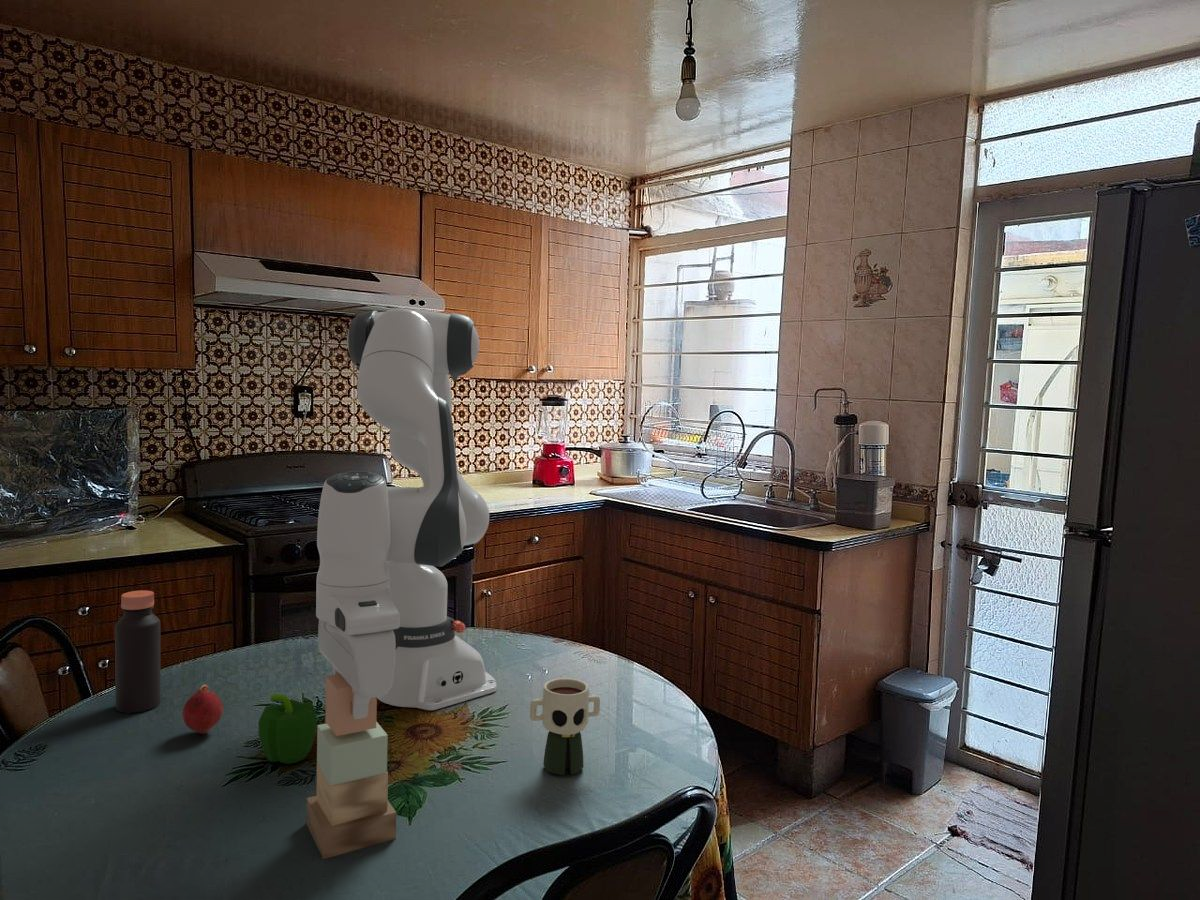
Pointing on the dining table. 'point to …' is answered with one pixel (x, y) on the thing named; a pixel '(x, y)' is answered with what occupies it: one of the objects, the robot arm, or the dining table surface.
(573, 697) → the character mug
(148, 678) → the bottle
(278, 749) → the bell pepper
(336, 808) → the oak cube
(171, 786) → the dining table surface
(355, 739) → the sage cube
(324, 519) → the robot arm
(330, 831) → the walnut slab
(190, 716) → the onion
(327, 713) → the terracotta block
